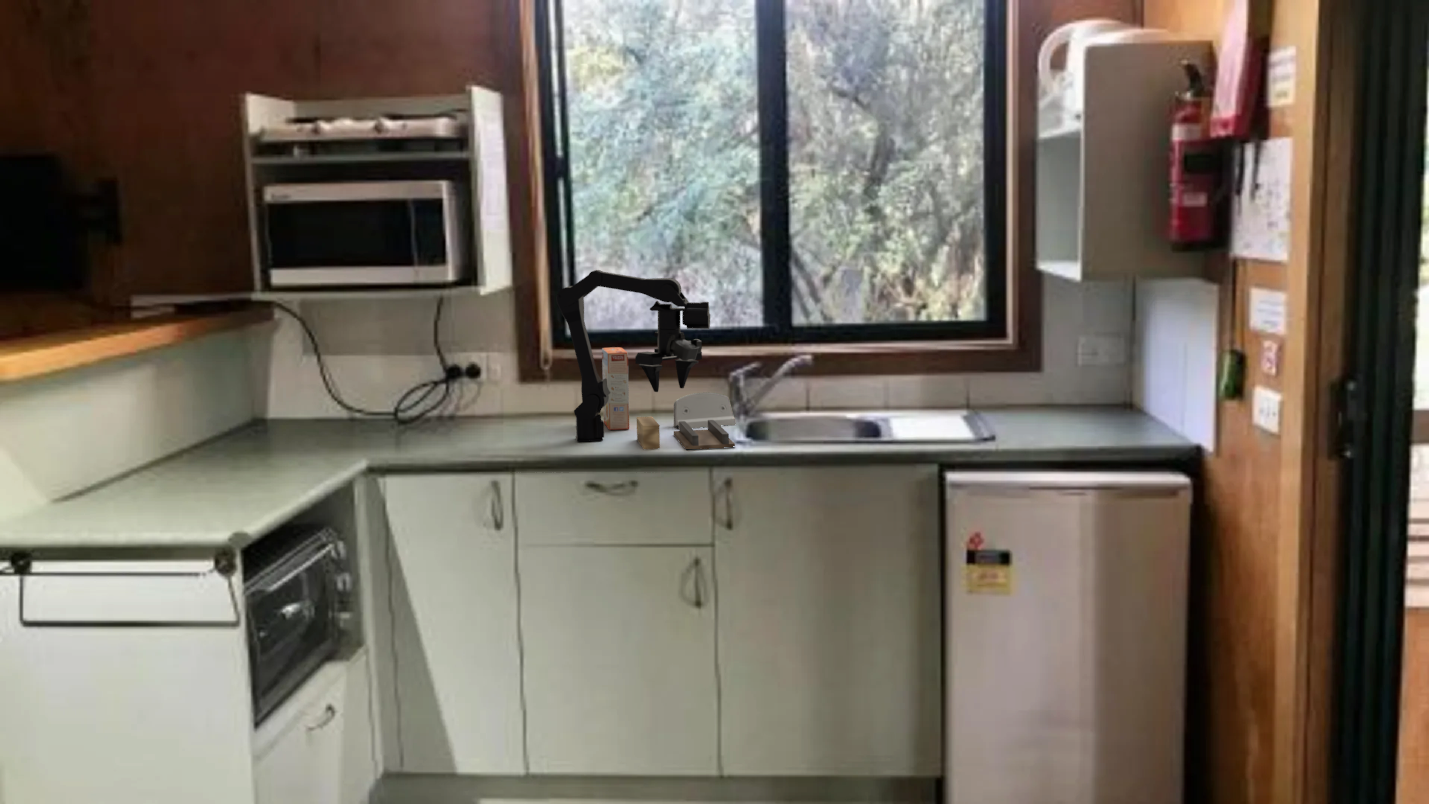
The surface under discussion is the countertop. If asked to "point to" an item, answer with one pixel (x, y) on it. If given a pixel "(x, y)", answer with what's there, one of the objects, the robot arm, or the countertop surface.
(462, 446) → the countertop surface
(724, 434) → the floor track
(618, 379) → the cracker box
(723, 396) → the grey upright panel
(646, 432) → the wooden block
